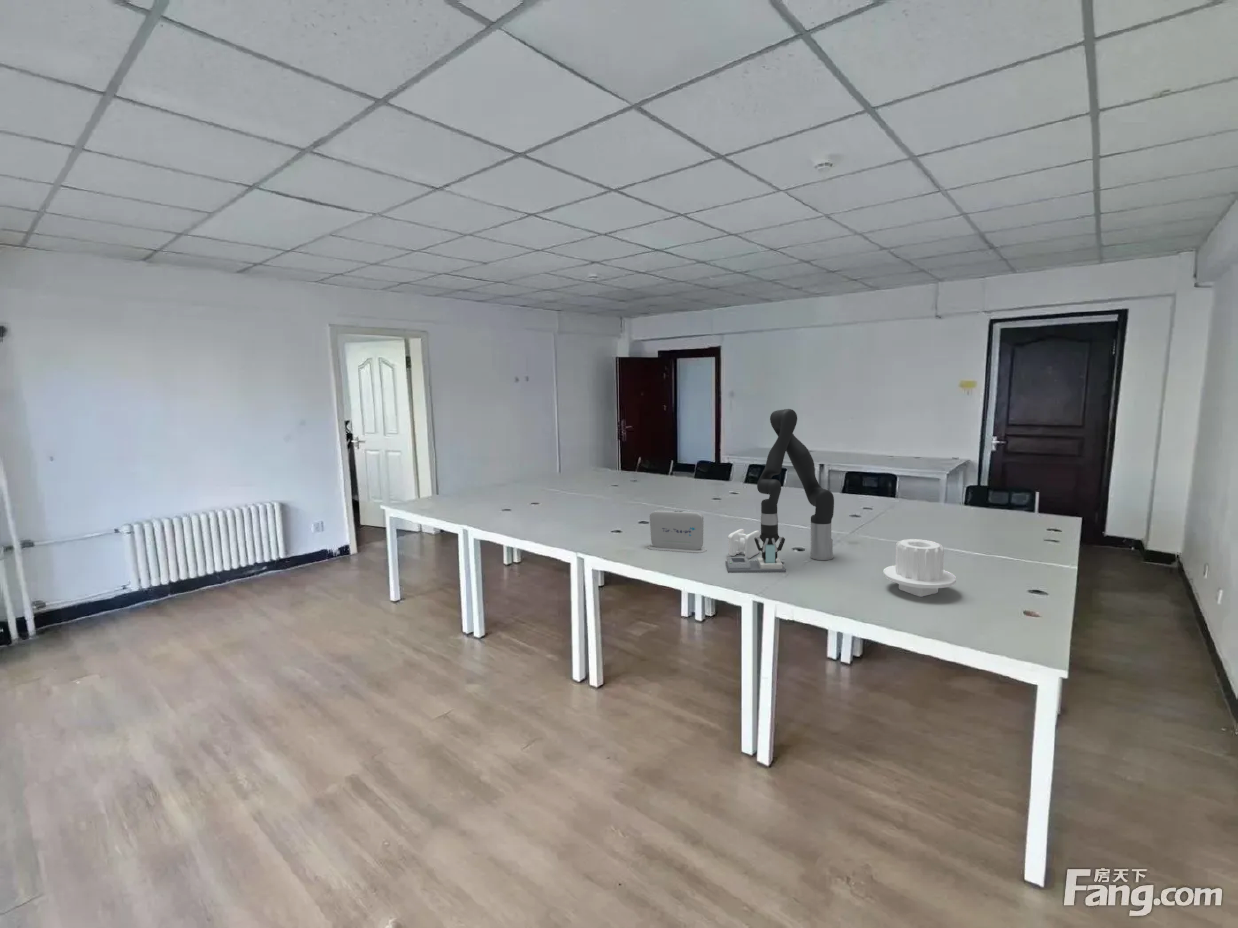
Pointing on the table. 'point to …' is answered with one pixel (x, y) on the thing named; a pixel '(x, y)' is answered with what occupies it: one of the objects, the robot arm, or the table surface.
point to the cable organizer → (743, 543)
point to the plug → (770, 553)
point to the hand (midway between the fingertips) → (769, 559)
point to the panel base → (754, 568)
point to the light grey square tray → (769, 564)
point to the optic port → (738, 563)
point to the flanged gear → (919, 567)
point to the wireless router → (677, 531)
